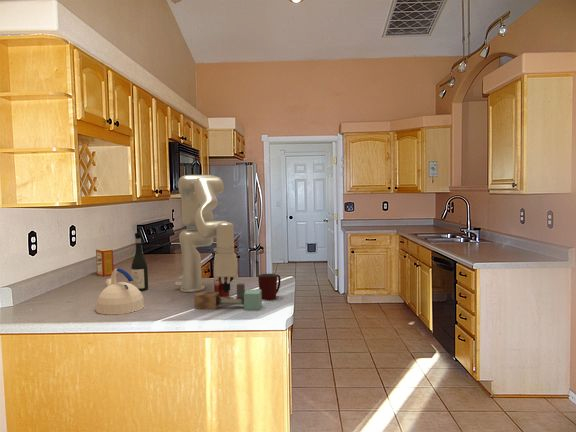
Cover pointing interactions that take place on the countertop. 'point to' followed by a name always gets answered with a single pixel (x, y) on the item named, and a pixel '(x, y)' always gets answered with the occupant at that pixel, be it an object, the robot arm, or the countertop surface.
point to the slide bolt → (233, 300)
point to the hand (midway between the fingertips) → (226, 291)
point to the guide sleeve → (206, 300)
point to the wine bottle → (139, 267)
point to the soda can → (220, 288)
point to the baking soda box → (104, 262)
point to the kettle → (119, 296)
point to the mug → (268, 286)
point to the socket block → (252, 300)
